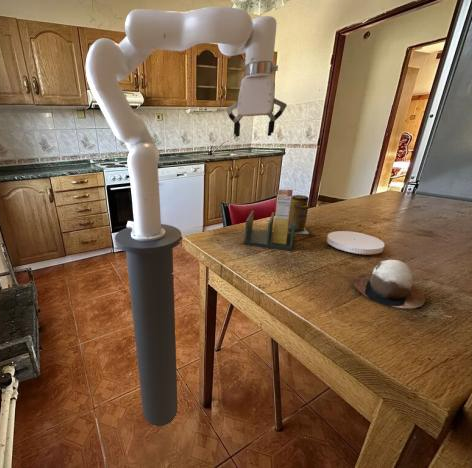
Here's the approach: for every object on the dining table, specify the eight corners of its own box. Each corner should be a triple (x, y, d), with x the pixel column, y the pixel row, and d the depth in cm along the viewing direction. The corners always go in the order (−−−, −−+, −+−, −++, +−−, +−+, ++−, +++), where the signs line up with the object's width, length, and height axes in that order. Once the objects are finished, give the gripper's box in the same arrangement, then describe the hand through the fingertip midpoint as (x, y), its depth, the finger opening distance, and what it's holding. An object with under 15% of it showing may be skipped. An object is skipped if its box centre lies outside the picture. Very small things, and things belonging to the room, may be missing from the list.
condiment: (303, 226, 95) (308, 194, 91) (309, 234, 88) (315, 200, 83) (282, 225, 97) (286, 194, 93) (286, 233, 89) (291, 199, 85)
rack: (244, 244, 82) (246, 220, 79) (250, 231, 92) (252, 210, 89) (291, 250, 76) (295, 225, 74) (292, 236, 86) (296, 214, 84)
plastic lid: (385, 261, 68) (387, 253, 67) (324, 251, 76) (326, 243, 75) (379, 243, 79) (381, 235, 78) (327, 235, 86) (328, 228, 85)
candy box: (273, 233, 87) (279, 188, 82) (287, 235, 85) (294, 189, 80) (271, 243, 80) (277, 195, 74) (286, 245, 78) (293, 196, 72)
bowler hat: (353, 266, 64) (398, 245, 57) (385, 301, 62) (436, 284, 55) (344, 285, 56) (396, 264, 49) (380, 327, 54) (439, 310, 47)
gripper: (291, 70, 73) (283, 135, 79) (231, 78, 80) (228, 136, 87) (290, 65, 67) (282, 135, 73) (225, 74, 74) (222, 137, 80)
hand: (252, 136), depth 80 cm, fingers open, 9 cm apart
